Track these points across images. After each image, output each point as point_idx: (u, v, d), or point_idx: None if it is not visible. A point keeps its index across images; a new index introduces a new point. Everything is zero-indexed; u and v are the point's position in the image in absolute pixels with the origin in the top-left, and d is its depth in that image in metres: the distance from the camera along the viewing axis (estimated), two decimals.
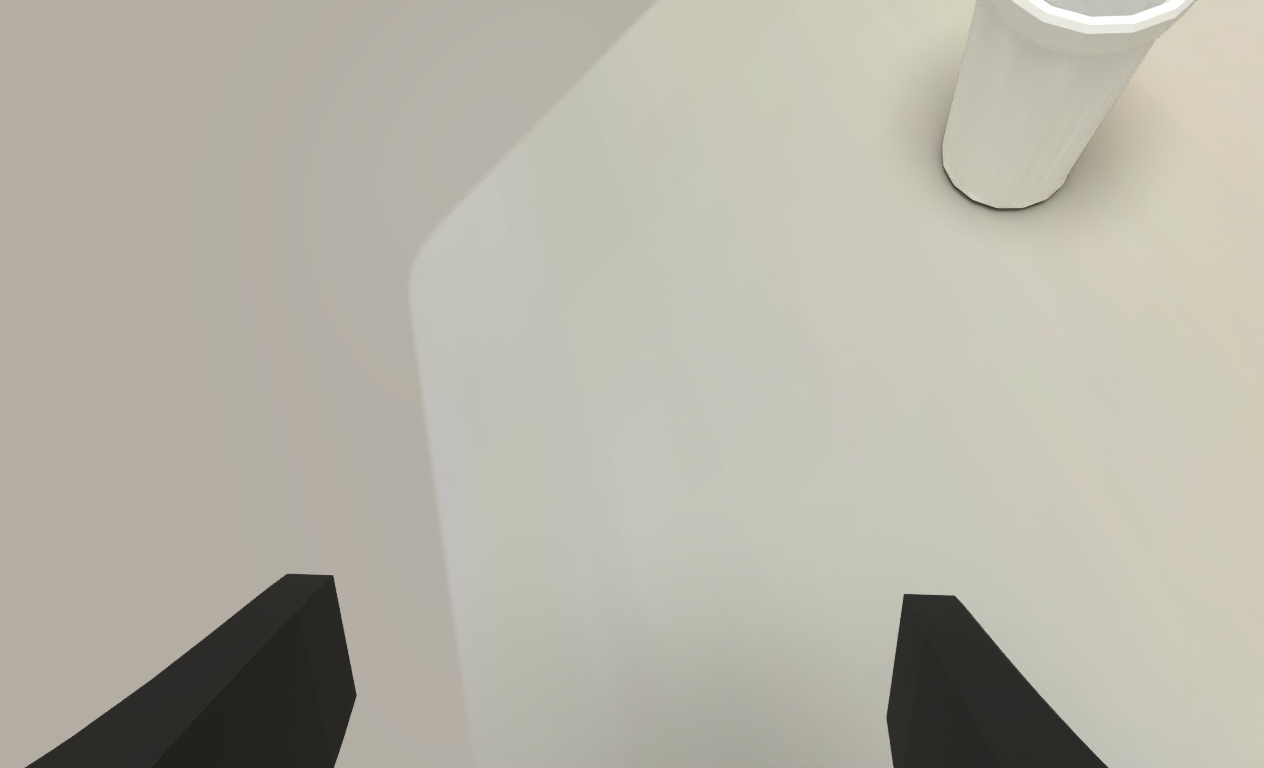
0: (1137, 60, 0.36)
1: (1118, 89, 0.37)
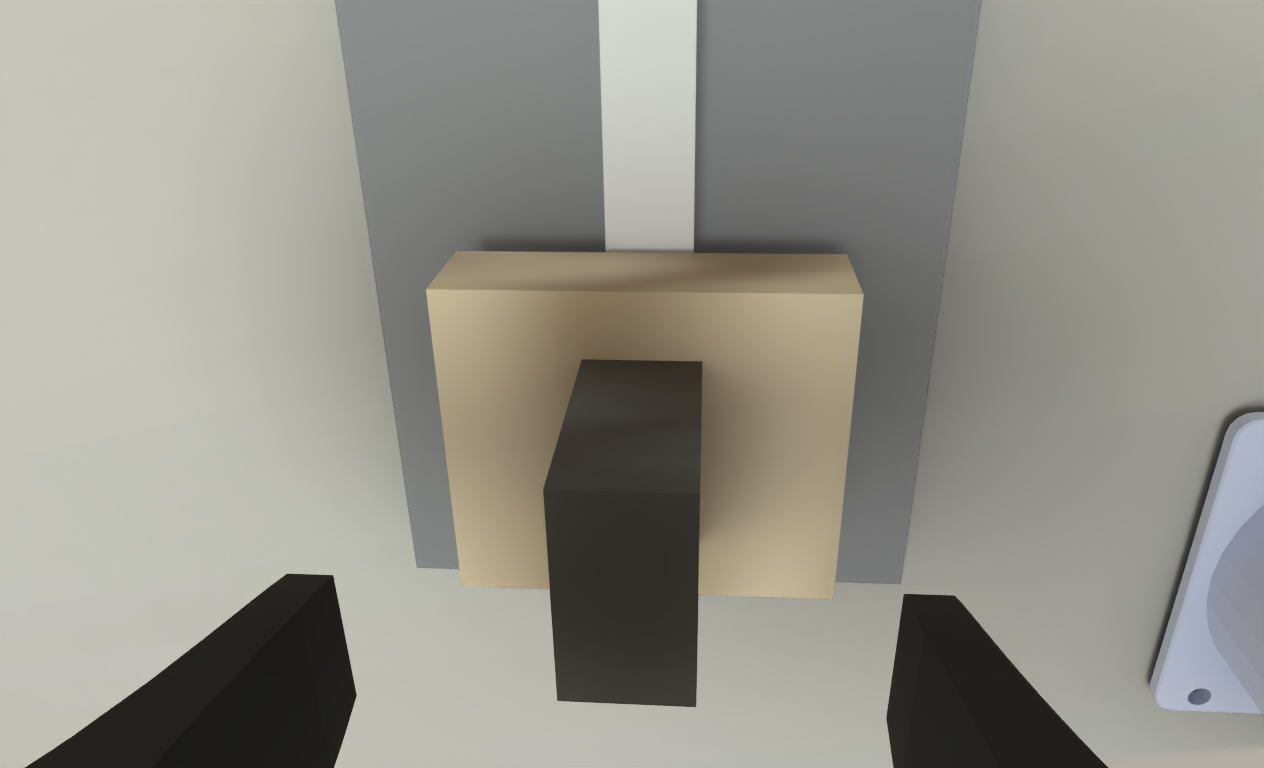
0: None
1: None
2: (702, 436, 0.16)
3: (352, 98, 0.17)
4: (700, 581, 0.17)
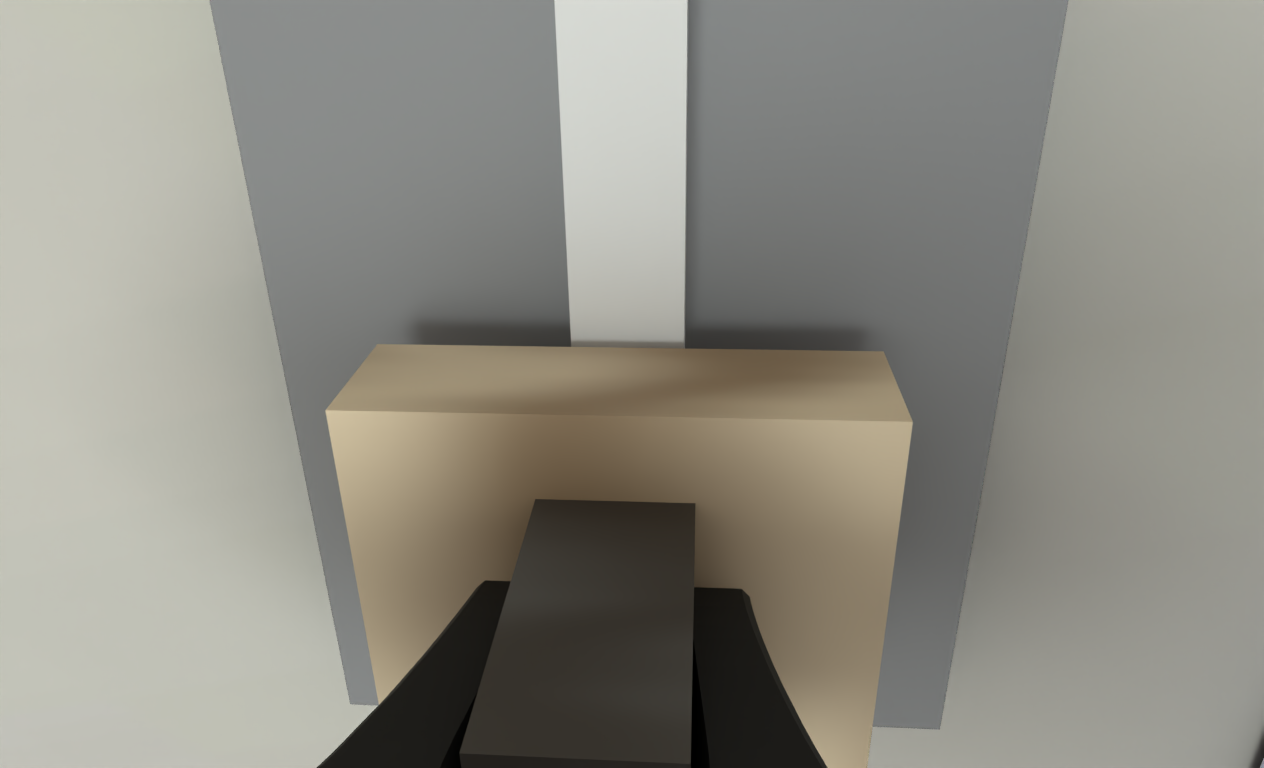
0: None
1: None
2: None
3: (243, 147, 0.13)
4: None
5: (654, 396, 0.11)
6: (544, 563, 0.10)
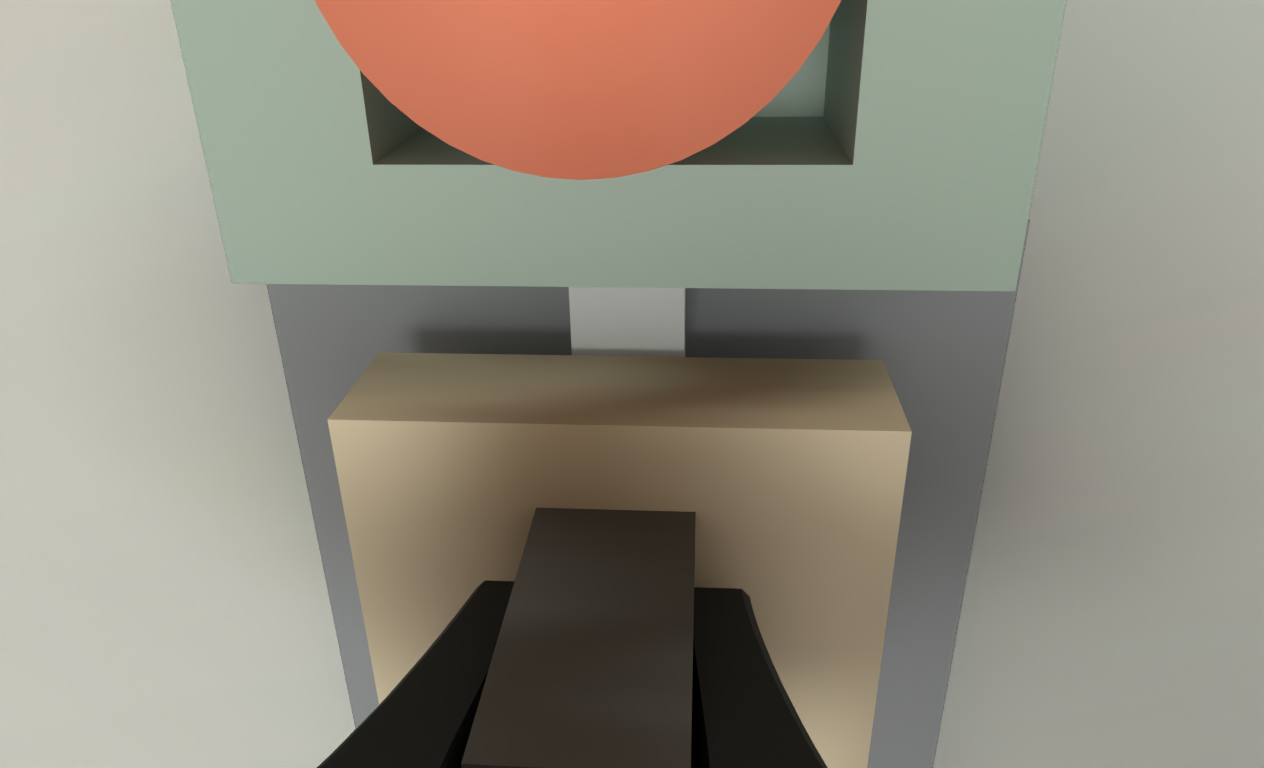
0: None
1: None
2: None
3: (337, 621, 0.17)
4: None
5: (654, 405, 0.12)
6: (545, 572, 0.11)
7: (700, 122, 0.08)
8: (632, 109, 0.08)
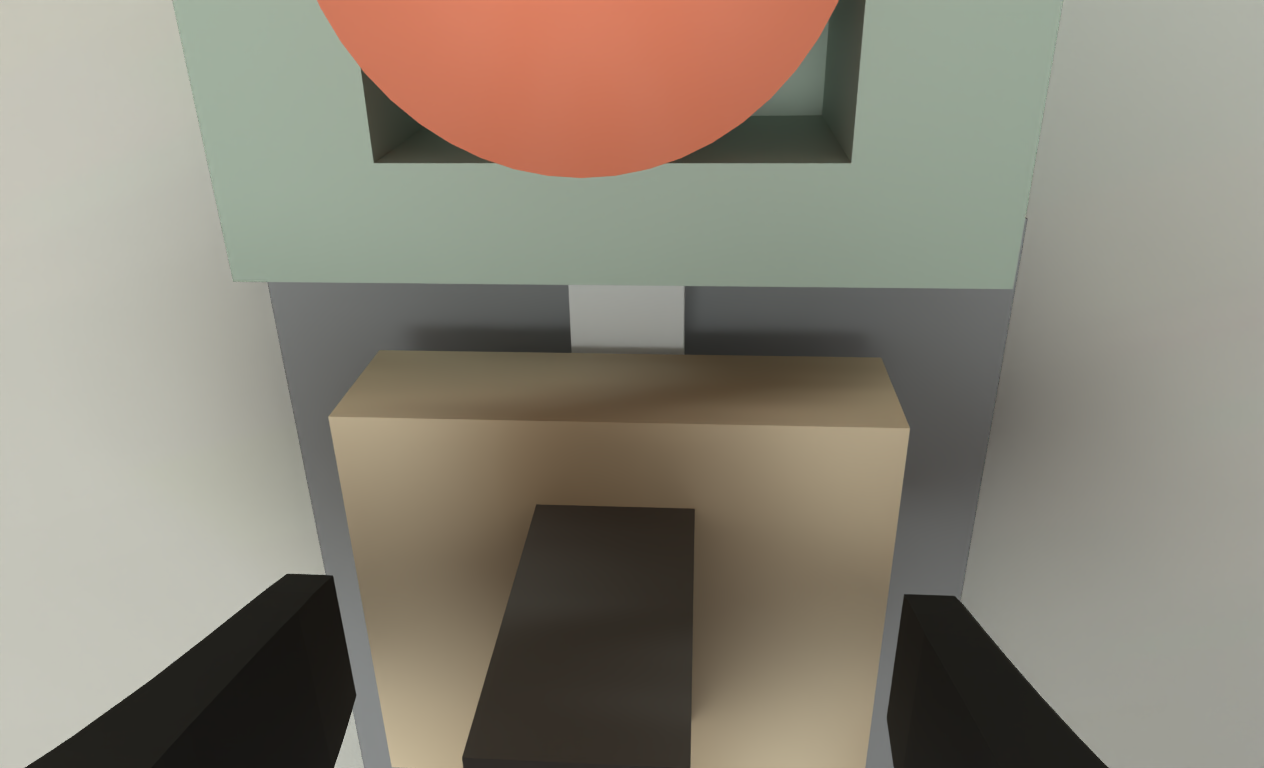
0: None
1: None
2: (695, 599, 0.12)
3: None
4: (693, 766, 0.14)
5: (654, 402, 0.12)
6: (545, 568, 0.11)
7: (699, 121, 0.08)
8: (632, 108, 0.08)
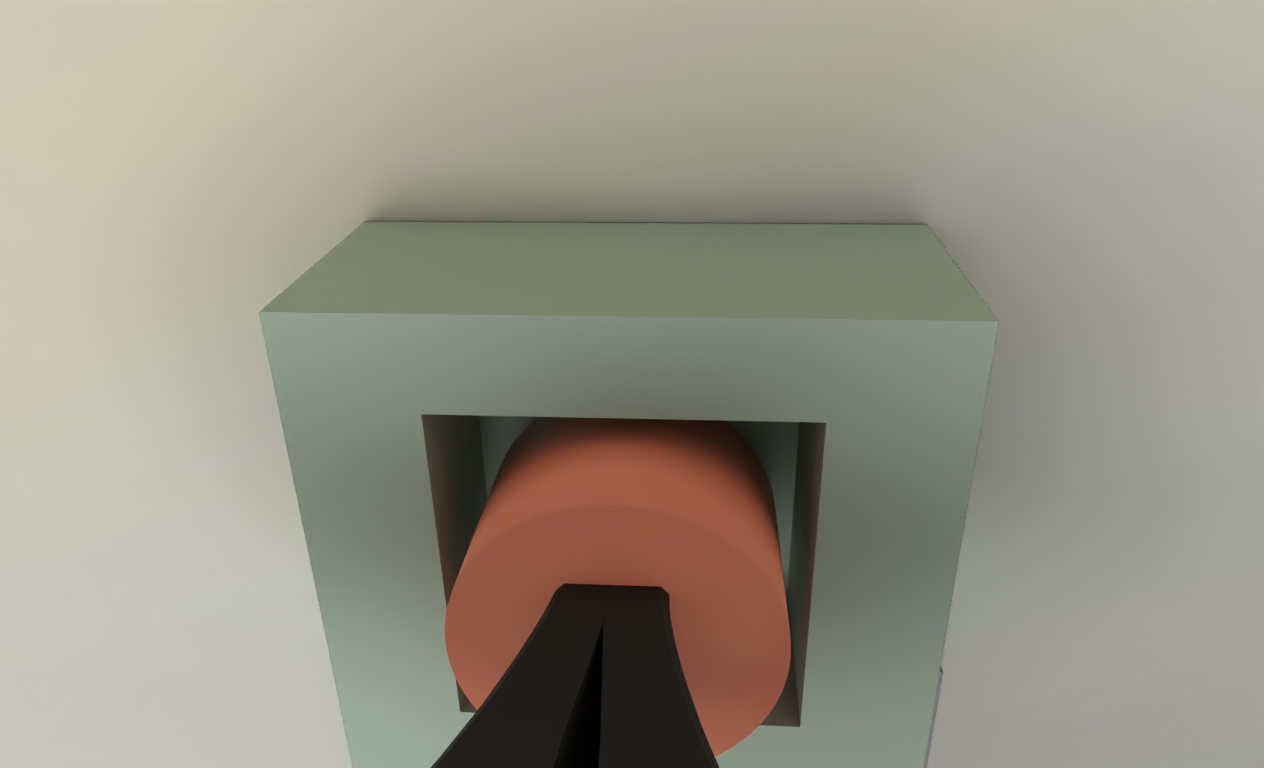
0: None
1: None
2: None
3: None
4: None
5: None
6: None
7: None
8: None
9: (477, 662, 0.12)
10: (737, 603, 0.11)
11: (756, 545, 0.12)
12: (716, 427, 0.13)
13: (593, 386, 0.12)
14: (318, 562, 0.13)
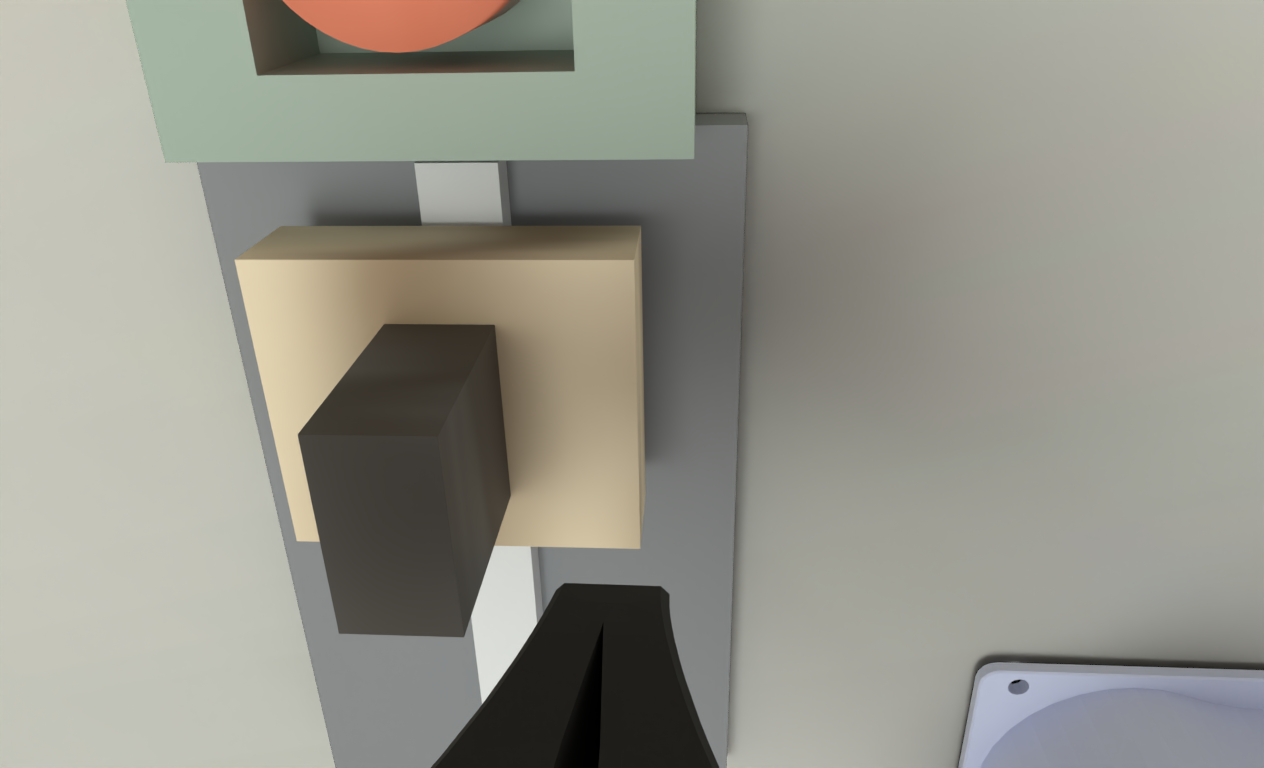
0: None
1: None
2: (502, 395, 0.17)
3: (266, 455, 0.22)
4: (516, 533, 0.19)
5: (465, 250, 0.16)
6: (379, 354, 0.15)
7: (458, 18, 0.14)
8: (421, 11, 0.14)
9: None
10: None
11: None
12: None
13: None
14: None
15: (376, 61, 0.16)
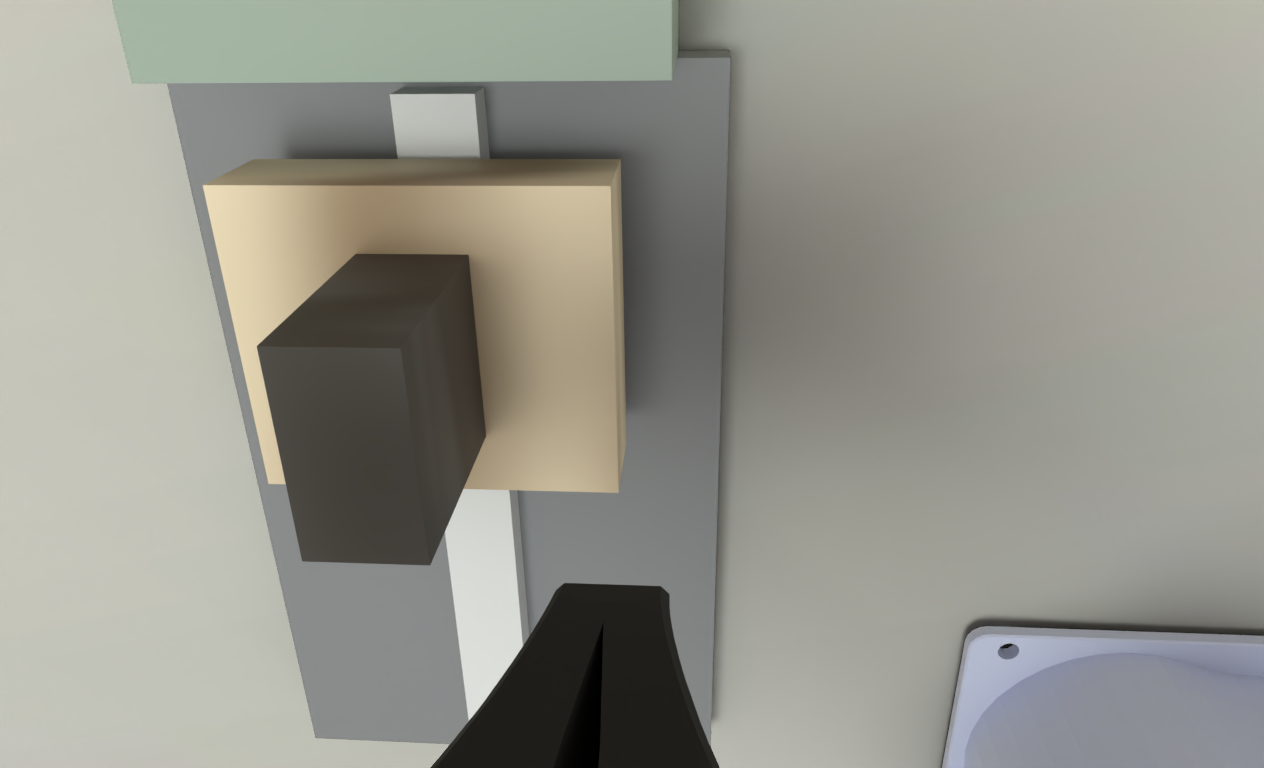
0: None
1: None
2: (476, 329, 0.17)
3: (242, 404, 0.21)
4: (492, 476, 0.18)
5: (439, 178, 0.16)
6: (347, 279, 0.15)
7: None
8: None
9: None
10: None
11: None
12: None
13: None
14: None
15: None
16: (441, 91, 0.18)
